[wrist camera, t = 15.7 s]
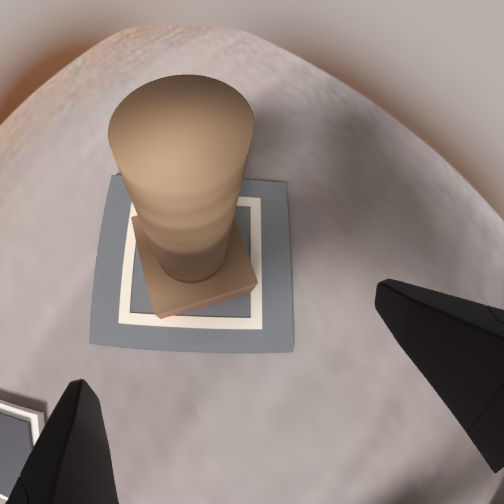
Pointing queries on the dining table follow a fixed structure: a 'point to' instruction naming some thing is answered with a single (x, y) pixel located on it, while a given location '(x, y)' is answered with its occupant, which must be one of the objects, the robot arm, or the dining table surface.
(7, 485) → the ink pad
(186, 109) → the stamp
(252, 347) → the form board
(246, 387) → the dining table surface
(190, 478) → the dining table surface
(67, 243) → the dining table surface
